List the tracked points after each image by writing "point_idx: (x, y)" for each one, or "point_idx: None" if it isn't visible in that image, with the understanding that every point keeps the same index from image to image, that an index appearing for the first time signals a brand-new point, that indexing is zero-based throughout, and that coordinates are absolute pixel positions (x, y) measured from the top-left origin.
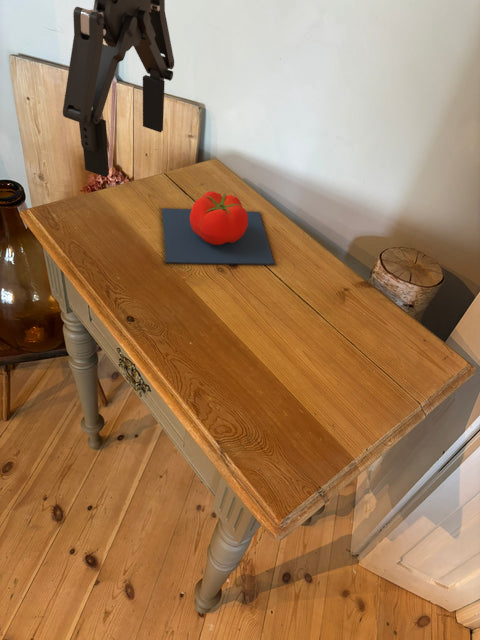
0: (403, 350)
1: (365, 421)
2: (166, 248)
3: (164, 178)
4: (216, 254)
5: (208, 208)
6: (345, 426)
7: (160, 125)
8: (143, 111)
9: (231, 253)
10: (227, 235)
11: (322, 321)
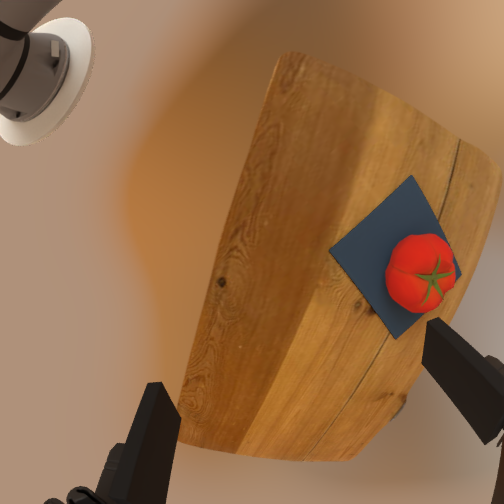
0: (345, 442)
1: (266, 451)
2: (351, 234)
3: (455, 137)
4: (377, 287)
5: (421, 272)
6: (253, 446)
7: (430, 372)
8: (449, 345)
9: (387, 299)
10: (398, 303)
11: (343, 403)
